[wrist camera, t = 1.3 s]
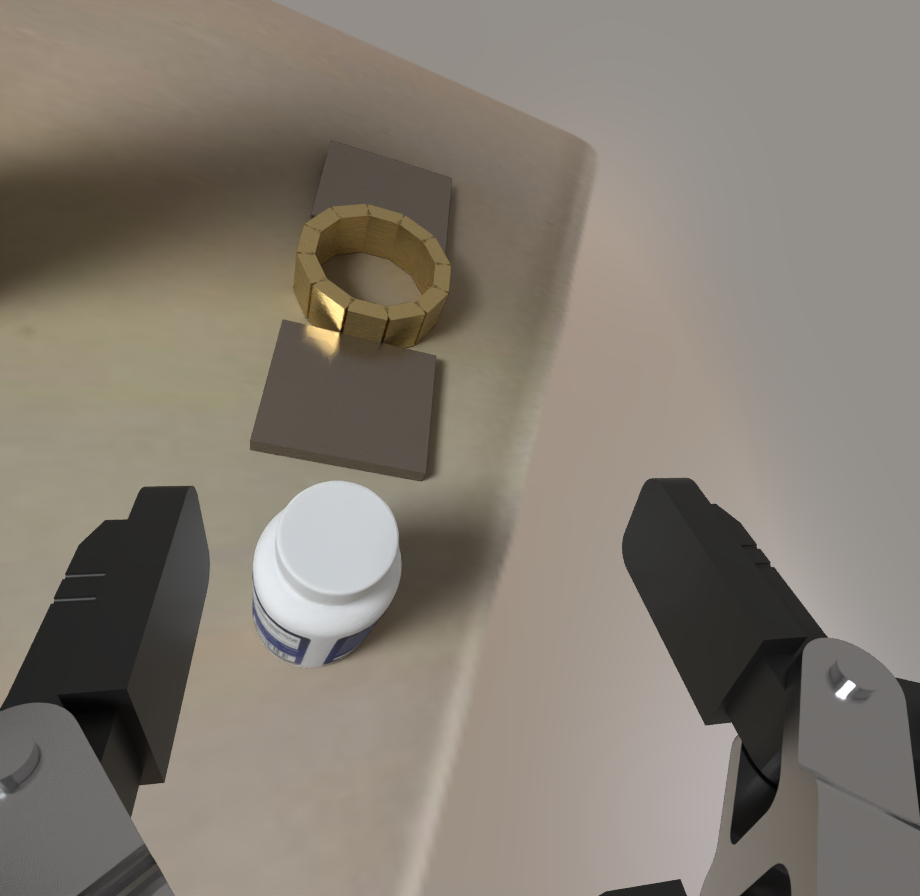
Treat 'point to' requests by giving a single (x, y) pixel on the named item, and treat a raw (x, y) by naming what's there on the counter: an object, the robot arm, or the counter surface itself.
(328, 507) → the pill bottle
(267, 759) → the counter surface
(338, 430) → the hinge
